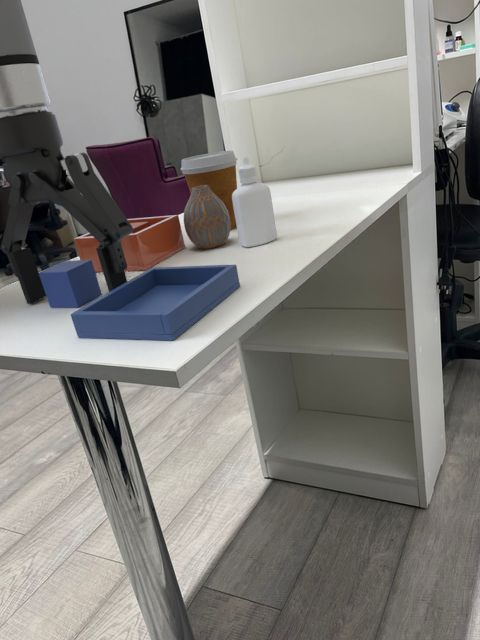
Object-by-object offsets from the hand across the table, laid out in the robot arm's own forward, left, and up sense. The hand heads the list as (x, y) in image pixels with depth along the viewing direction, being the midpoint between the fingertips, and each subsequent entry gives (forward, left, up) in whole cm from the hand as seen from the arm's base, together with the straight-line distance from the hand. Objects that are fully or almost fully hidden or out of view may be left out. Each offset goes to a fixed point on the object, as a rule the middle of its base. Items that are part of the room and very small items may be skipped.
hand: (77, 299), depth 67 cm
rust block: (-3, +17, 0) cm, 17 cm away
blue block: (0, 0, 0) cm, 0 cm away
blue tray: (+15, -3, 0) cm, 15 cm away
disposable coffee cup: (+3, +34, 0) cm, 34 cm away
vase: (+7, +23, 0) cm, 24 cm away
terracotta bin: (-3, +17, 0) cm, 17 cm away
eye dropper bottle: (+15, +23, 0) cm, 27 cm away
